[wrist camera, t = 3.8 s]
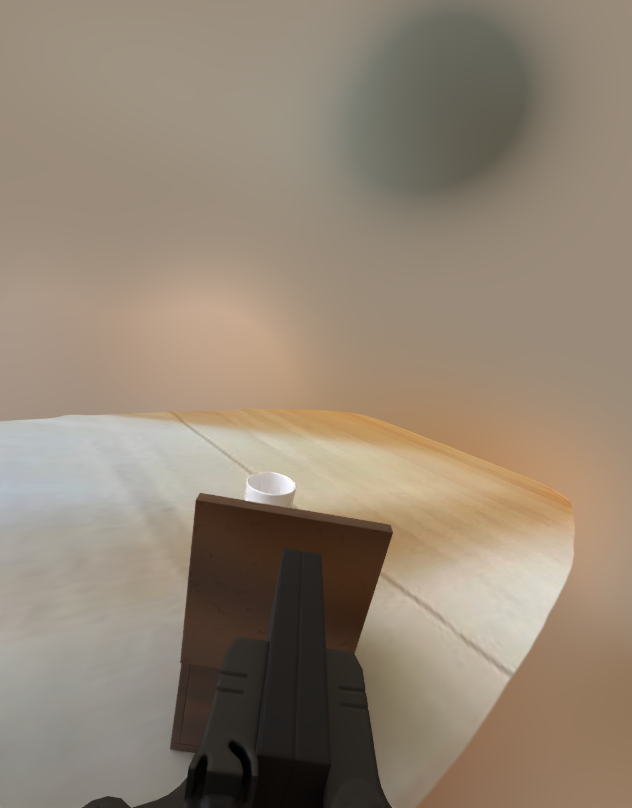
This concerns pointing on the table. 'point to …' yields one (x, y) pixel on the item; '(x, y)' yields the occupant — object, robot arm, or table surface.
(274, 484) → the white cup
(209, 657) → the lid
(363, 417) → the table surface
